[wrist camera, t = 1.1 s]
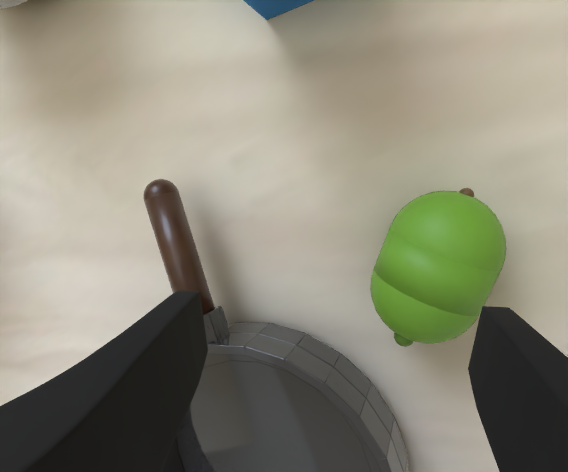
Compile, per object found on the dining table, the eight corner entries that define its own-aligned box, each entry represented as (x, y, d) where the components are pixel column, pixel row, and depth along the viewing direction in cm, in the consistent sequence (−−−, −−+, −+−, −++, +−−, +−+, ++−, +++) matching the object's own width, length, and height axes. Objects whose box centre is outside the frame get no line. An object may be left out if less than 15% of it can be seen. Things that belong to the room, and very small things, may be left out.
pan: (477, 475, 22) (484, 537, 18) (289, 615, 27) (265, 686, 23) (251, 263, 24) (217, 279, 21) (120, 428, 30) (74, 465, 26)
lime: (416, 169, 21) (409, 169, 16) (519, 204, 19) (542, 214, 15) (360, 307, 23) (341, 340, 18) (451, 347, 21) (453, 394, 17)
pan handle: (233, 335, 23) (217, 348, 21) (200, 342, 24) (181, 355, 22) (183, 173, 23) (163, 173, 21) (150, 185, 24) (128, 187, 22)
